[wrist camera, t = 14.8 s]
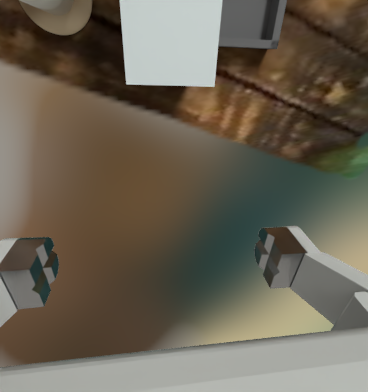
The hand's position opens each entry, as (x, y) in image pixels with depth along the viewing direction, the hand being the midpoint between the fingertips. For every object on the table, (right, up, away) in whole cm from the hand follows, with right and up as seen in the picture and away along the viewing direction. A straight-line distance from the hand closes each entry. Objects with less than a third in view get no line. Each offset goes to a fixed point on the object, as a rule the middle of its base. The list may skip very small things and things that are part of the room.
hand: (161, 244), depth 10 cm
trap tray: (+9, +29, +24) cm, 39 cm away
